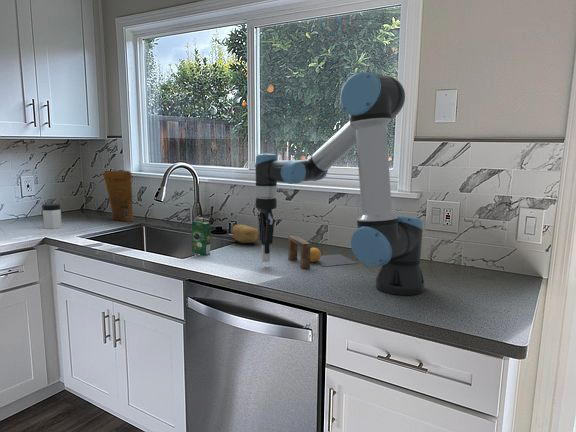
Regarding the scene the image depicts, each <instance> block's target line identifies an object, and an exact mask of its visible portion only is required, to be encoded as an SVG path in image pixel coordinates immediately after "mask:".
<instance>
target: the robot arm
mask: <svg viewBox="0 0 576 432" xmlns="http://www.w3.org/2000/svg"><path fill="white" fill-rule="evenodd" d="M339 97H340V98H339V99H340V105H341V107H342V109H343V110H344V111H345V112H346V113H347V114H348V117H349V121H348V122H347V123H345V124H344V125H343V126H342V127H341V128H340V129H339V130H338V131H336V133H335V134H333V136H331V137H330V138H329V139H328V140H327V141H326V142H325V143H323V144H322V146H320V147H319V148H318V149H317V150H316V151H315V152H314V153H313V154H312V155H311V156H309V157H308V158H307V159H298V160H297V159H296V160H295V159H292V160H281V159H280V160H279V159H278V157H277V154H276V153H257V155H256V156H255V165H254V167H255V189H254V191H255V192H254V193H255V197H256V198H255V209H258V210H259V213H258V214H257V218H258V219H257V221H258V233H259V235H258V236H259V241H260V245H261V263H270V262H271V245H272V244H273V242H274V241H273V240H274V229H275V222H276V219H275V218H273V217H274V216H273V210H274V209H275V210H276V208H277V207H278V206H277V198H276V197H277V191H278V190H279V188H278V187H277V186H278V185H277V184H278V183H285V184H289V185H291V184H293V185H295V184H300V183H302V182H303V183H304V182H311V181H312V182H316V181H320V180H323V179H325V177H326V176H327V174H328V173H329V169H330V168H331V167H333V166H334V165H335V164H337V162H338V161H340V160H341V159H342V158H343V157H345V156H346V155H347V154H348V153H349V152H350V151H352V150H353V149H354V148H355V147H356V152H357V164H358V165H357V166H358V176H359V177H358V180H359V191H360V192H359V195H360V208H361V213H360V214H359V216H358V217H357V219H356V225H357V226H356V227H357V228H356V230H355V231H354V233H352V236H351V238H350V248H351V250H352V253H353V255H354V256H355V258H356V259H358V261H359V262H360V263H362V264H363V265H365V266H368V267H379V269H378V272H377V275H376V277H375V283H374V287H376V289H377V290H379V291H381V292H384V293H388V294H392V295H399V296H413V295H420V294H423V292H424V291H425V286H426V285H425V280H424V276H423V272H422V268H421V256H422V255H421V254H422V240H423V231H424V229H423V221H422V219H421V218H419V217H415V216H407V215H397V214H396V213H394V211H393V207H392V193H391V191H392V190H391V178H390V177H391V176H390V174H391V173H390V163H389V160H390V158H389V146H388V133H387V131H388V130H387V126H388V125H389V124H390V122H391V121H392V120H393V119H394V118H395V117H396V116H397V115H398V114H399V113H400V112H401V110H403V107H404V105H405V102H406V101H405V100H406V92H405V88H404V86H403V85H402V83H401V82H400V81H399V80H398V79H396V78H395V77H391V76H386V75H381V74H378V73H377V74H376V73H374V72H370V71H369V72H366V71H361V72H356V73H354V74H352V75H351V76H350V77H349V78H348V79H347V80H346V81H345V83H344V84H343V85H342V88H341V90H340V96H339Z"/></svg>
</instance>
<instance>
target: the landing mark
mask: <svg viewBox="0 0 576 432" xmlns="http://www.w3.org/2000/svg"><path fill="white" fill-rule="evenodd" d="M316 263H317V264H319V265H320V266H322V267H325V268H326V267H335V266H345V265H346V266H347V265H355V264H356V265H357V264H358V262H356V261H354V260H352V259H351V258H348V257H346V256H344V255H342V254H341V253H338V254H328V255H326V254H324V255H321V257H320V259H319V260H318V261H317V262H316Z"/></svg>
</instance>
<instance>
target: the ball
mask: <svg viewBox="0 0 576 432" xmlns="http://www.w3.org/2000/svg"><path fill="white" fill-rule="evenodd" d="M321 256H322V252H321V251H320V249H319V248H317V247H310V263H311V262H312V263H317V261H318V260H319V259H320V257H321Z"/></svg>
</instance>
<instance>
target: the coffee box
mask: <svg viewBox="0 0 576 432" xmlns="http://www.w3.org/2000/svg"><path fill="white" fill-rule="evenodd" d="M191 247H192V248H191V250H192V251H191V252H192V253H194V254H199V255H203V256H209V255H211V222H206V221H200V220H192V221H191Z"/></svg>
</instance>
